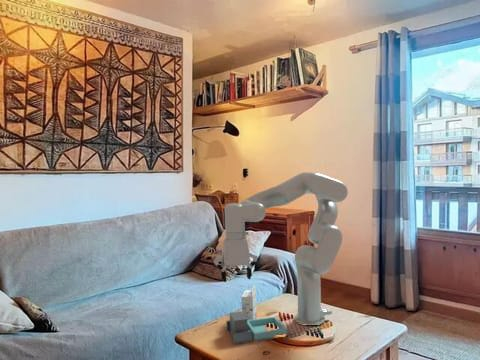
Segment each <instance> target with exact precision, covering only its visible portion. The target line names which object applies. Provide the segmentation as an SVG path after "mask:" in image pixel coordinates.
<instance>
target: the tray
mask: <svg viewBox="0 0 480 360" xmlns="http://www.w3.org/2000/svg"><path fill="white" fill-rule="evenodd" d="M269 323H275V324H276V325H277V326H278V327H279V328H280V329H277V330H270V331H267V330H266V328H265V326H266V325H267V324H269ZM247 330H248V331H249V330H251V331H252V341H253V342H255V343H256V342H261V341H262V342H263V341H268V340H270V341H271V340H275V339H274V336H275V335H283V334H287V335H288V328H286V326H285V325H284V324H283V323H282V322H281V321H280V320H279V319H278V317H277V316H269V317H260V318H256V319H252V320H247Z"/></svg>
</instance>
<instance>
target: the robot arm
mask: <svg viewBox="0 0 480 360" xmlns="http://www.w3.org/2000/svg"><path fill="white" fill-rule="evenodd" d="M348 193H349V191H348V187H347V185H346V184H345V183H344V182H343V181H340V180H338V179H335V178H332V177H329V176H327V175H324V174H321V173H318V172H308V171H307V172H301V173H298V174H297V175H294V176H293V177H291V178H289V179H287V180H285V181H284V182H281V183H280V184H278V185H276V186H273V187H272V186H271V187H270V188H268V189H265V190H263V191H260V192H257V193H254V194H252V195H251V196H249V197H247V198H245V199H244V200H242V201H241V202H240V203H238V202H236V203H235V202H234V203H226V204H225V206H224V227H225V228H224V229H225V231H224V232H225V234H224V235H225V239H224V238H223V241H222V249H221V251H222V254H221V255H220V256H218V257H217V258H214V259H213V263H214V265H215V266H216V267H217V269H218V270H219V271H220V272H221V273H220V277H221V280H222V281H223V282H224V283H226V282H227V272H226V269H227V268H228V267H238V266H239V267H240V266H247V267H246V278H247V279H248V280H251V279H252V276H253V275H252V270H253V267H254V266H255V265H256V263H257V261H258V259H259V257H258V255H255V254H253V253H251V252H250V249H249V243H248V239H247V238H246V237H247V236H249V235H250V234H249V231H246V225H245V222H250V223H252V222H253V223H259V222H260V221H263V220H264V218H266V215H267V211H266V209H270V208H273V207H283V206H286V205H289V204H290V203H292V202H294V201H296V200H297V199H299V198H301V197H303V196H305V195H306V194H311V195H314V196H315V198H316V202H317V207H318V208H317V211H316V214H315V217H314V219H313V220H312V223H311V225H310V227H309V230H308V233H307V239H308V240H309V241H310V243H312V244H314V245H317V247H316V246H312V245H309V244H308V245H307V244H306V245H305V244H304V245H301V246H299V247H298V248H297V250H296V251H295V253H294V263H295V267H296V268H295V269H296V276H297V277H296V278H297V281H296V282H297V284H296V285H297V314H295V315H294V317H293V318H294V319H295V320H296V321H297V322H299V323H302V324H307V325H318V326H320V324H321V325H323V324H324V323H325V320H326V316H330V315H332V314H333V313H332V310H331V309H326V308H322V307H321V306H322V303H321V301H322V299H321V298H322V295H321V294H322V293H321V291H322V290H321V275H325V274H326V273H327V272H329V271H330V269H331V268H332V267H333V264H334V262H335V260H336V257H337V255H338V252H339V251H340V249H341V246H342V243H343V234H342V231H341V229H340V228H339V227H338V226H336V225H335V223H336V220H337V219H338V214H339V213H338V212H339V209H338V205H337V203H342V202H343V201H345V200H346V198H347V197H348ZM250 258H252V261H251V260H250ZM221 261H222V265H220V263H219V262H221ZM295 320H294V321H295ZM297 322H296V323H297ZM322 323H323V324H322Z"/></svg>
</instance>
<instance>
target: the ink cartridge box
mask: <svg viewBox="0 0 480 360" xmlns="http://www.w3.org/2000/svg"><path fill="white" fill-rule="evenodd" d="M241 311H242V312H243V314H244V315H245V317H246V318H247V320H252V319H257V289H256V284H255V283H254V284H253V285H252V288H251V290H248V289H245V290H244V292H243V293H242V295H241Z"/></svg>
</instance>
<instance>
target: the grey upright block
mask: <svg viewBox="0 0 480 360" xmlns="http://www.w3.org/2000/svg"><path fill="white" fill-rule="evenodd" d="M229 320H230V331H229V334H230V335H231V337H232V338H233V333H234V332H241V331H248V330H247V318H246V317H245V315H244V314H243V312H242V310H241V311H233V312H229Z"/></svg>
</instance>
